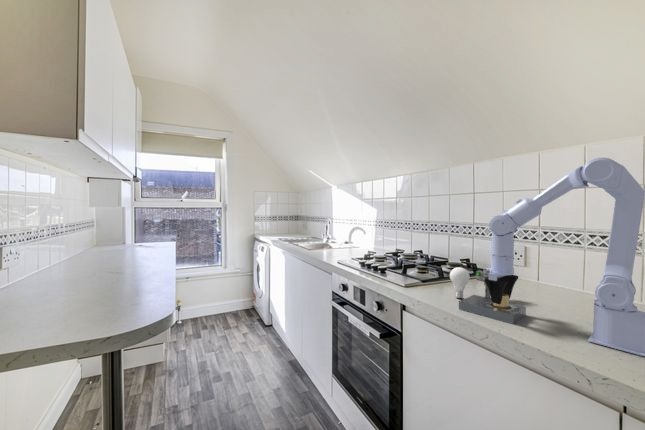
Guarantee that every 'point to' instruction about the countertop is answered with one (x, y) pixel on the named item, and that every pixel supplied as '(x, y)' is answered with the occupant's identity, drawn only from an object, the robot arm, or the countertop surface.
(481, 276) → the mechanical component
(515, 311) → the plate
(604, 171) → the robot arm
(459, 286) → the lightbulb
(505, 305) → the cylinder
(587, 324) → the countertop surface
